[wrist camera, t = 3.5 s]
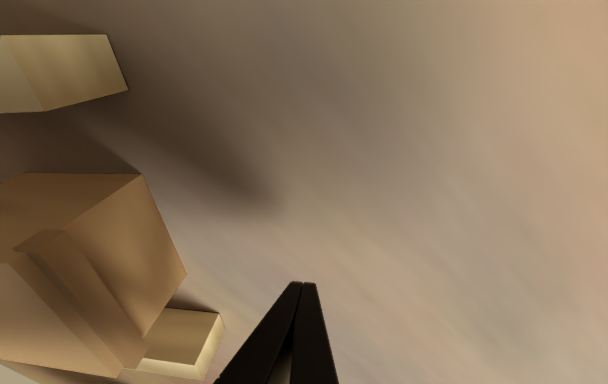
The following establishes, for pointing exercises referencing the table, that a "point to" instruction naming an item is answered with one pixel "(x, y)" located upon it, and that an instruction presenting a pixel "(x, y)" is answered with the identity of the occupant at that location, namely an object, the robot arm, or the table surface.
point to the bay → (78, 88)
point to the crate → (82, 270)
